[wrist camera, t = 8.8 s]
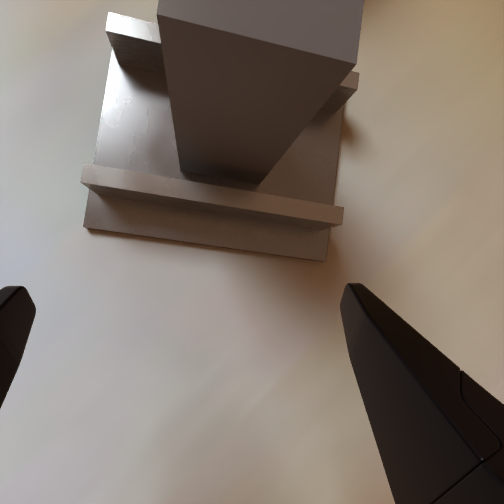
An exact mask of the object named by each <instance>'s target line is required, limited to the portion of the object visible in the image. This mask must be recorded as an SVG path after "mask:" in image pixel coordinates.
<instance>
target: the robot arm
mask: <svg viewBox="0 0 504 504" xmlns="http://www.w3.org/2000/svg"><path fill="white" fill-rule="evenodd" d="M340 310H341V316H342V321H343V326H344V331H345V337H346V342H347V347H348V352H349V357H350V360H351V364H352V367H353V370H354V373H355V377H356V380H357V383H358V386H359V389H360V393H361V396H362V399H363V402H364V405H365V409H366V412H367V415H368V418H369V421H370V424H371V428H372V431H373V434H374V437H375V440H376V444H377V447H378V450H379V453H380V456H381V460H382V463H383V466H384V469H385V472H386V476H387V479H388V482H389V485H390V488H391V491H392V495H393V498H394V501H395V504H504V404H502V403H501V402H500V401H499V400H497V399H496V398H495V397H494V396H492V395H491V394H490V393H489V392H488V391H486V390H485V389H484V388H483V387H482V386H480V385H479V384H478V383H477V382H475V381H474V380H473V379H472V378H471V377H470V376H469V375H467V374H466V373H465V372H464V371H462V370H461V371H460V368H459V367H458V366H457V365H456V364H454V363H453V362H452V361H451V360H450V359H449V358H447V357H446V356H445V355H444V354H443V353H442V352H441V351H439V350H438V349H437V348H436V347H435V346H434V345H432V344H431V343H430V342H429V341H428V340H427V339H425V338H424V337H423V336H422V335H421V334H420V333H418V332H417V331H416V330H415V329H414V328H413V327H411V326H410V325H409V324H408V323H407V322H406V321H405V320H403V319H402V318H401V317H400V316H399V315H398V314H396V313H395V312H394V311H393V310H392V309H391V308H389V307H388V306H387V305H386V304H385V303H384V302H382V301H381V300H380V299H379V298H378V297H377V296H376V295H374V294H373V293H372V292H371V291H370V290H369V289H367V288H366V287H365V286H364V285H363V284H361V283H348V284H347V285H346V286H345V289H344V293H343V296H342V299H341V303H340ZM35 314H36V308H35V305H34V303H33V301H32V299H31V297H30V295H29V293H28V291H27V289H26V288H25V287H23V286H7V287H4V288H3V289H1V290H0V408H1V406H2V404H3V401H4V399H5V397H6V395H7V392H8V390H9V388H10V386H11V383H12V381H13V379H14V376H15V374H16V372H17V369H18V367H19V365H20V362H21V359H22V356H23V353H24V350H25V346H26V343H27V340H28V337H29V334H30V330H31V327H32V324H33V321H34V318H35Z"/></svg>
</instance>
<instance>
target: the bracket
mask: <svg viewBox="0 0 504 504" xmlns="http://www.w3.org/2000/svg"><path fill="white" fill-rule="evenodd" d="M106 33H107V35H108V38H109V41H110V43H111V46H112V53H111V60H110V66H109V72H108V78H107V84H106V90H105V96H104V102H103V108H102V115H101V121H100V127H99V133H98V139H97V145H96V151H95V157H94V163H93V164H88V163H84V164H83V170H82V176H81V183H82V184H84V185H85V186H86V187H88V188H89V194H88V200H87V206H86V212H85V218H84V224H83V227H85V228H90V229H98V230H105V231H112V232H119V233H126V234H133V235H140V236H147V237H154V238H161V239H168V240H175V241H182V242H189V243H196V244H203V245H210V246H217V247H224V248H231V249H238V250H245V251H252V252H259V253H267V254H274V255H281V256H288V257H295V258H302V259H309V260H316V261H326V255H327V246H328V238H329V229H330V228H332V227H335V226H339V225H342V220H343V211H344V207H339V206H333V205H332V204H333V195H334V187H335V178H336V170H337V161H338V153H339V144H340V136H341V127H342V119H343V110H344V103H345V102H346V101H347V100H348V99H349V98H350V97H351V96H352V95H353V94H354V93H355V92H356V90H357V89H358V81H359V73H357V72H353V71H350V73H349V74H348V75H347V76H346V78H345V79H344V80H343V81H342V83H341V84H340V85H339V86H338V88H337V89H336V90H335V91H334V93H333V94H332V95H331V96H330V98H329V99H328V100H327V101H326V103H325V104H324V105H323V106H322V108H321V109H320V110H319V111H318V113H317V114H316V115H315V116H314V117H313V119H312V120H311V121H310V122H309V124H308V125H307V126H306V127H305V129H304V130H303V131H302V132H301V134H300V135H299V136H298V137H297V139H296V140H295V141H294V142H293V144H292V145H291V146H290V147H289V149H288V150H287V151H286V152H285V154H284V155H283V156H282V157H281V159H280V160H279V161H278V162H277V164H276V165H275V166H274V167H273V169H272V170H271V171H270V172H269V174H268V175H267V176H266V177H265V179H264V180H263V181H262V182H261V184H260V185H258V184H253V183H247V182H242V181H236V180H230V179H225V178H219V177H214V176H208V175H202V174H197V173H191V172H186V171H180V165H179V159H178V152H177V145H176V139H175V132H174V125H173V119H172V112H171V106H170V99H169V92H168V86H167V79H166V73H165V66H164V59H163V53H162V46H161V39H160V33H159V26H158V24H156V23H152V22H147V21H143V20H139V19H135V18H131V17H127V16H123V15H119V14H115V13H110V12H109V13H108V19H107V25H106Z"/></svg>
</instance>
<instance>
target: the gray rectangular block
mask: <svg viewBox="0 0 504 504" xmlns="http://www.w3.org/2000/svg"><path fill="white" fill-rule="evenodd" d="M363 4H364V0H159V2H158V9H157V20H158V26H159V33H160V39H161V46H162V53H163V59H164V66H165V73H166V79H167V86H168V92H169V99H170V106H171V112H172V119H173V125H174V132H175V139H176V145H177V152H178V159H179V165H180V171H186V172H191V173H197V174H202V175H208V176H214V177H219V178H225V179H230V180H236V181H242V182H247V183H253V184H258V185H260V184H261V182H262V181H263V180H264V179H265V177H266V176H267V175H268V174H269V172H270V171H271V170H272V169H273V167H274V166H275V165H276V164H277V162H278V161H279V160H280V159H281V157H282V156H283V155H284V154H285V152H286V151H287V150H288V149H289V147H290V146H291V145H292V144H293V142H294V141H295V140H296V139H297V137H298V136H299V135H300V134H301V132H302V131H303V130H304V129H305V127H306V126H307V125H308V124H309V122H310V121H311V120H312V119H313V117H314V116H315V115H316V114H317V113H318V111H319V110H320V109H321V108H322V106H323V105H324V104H325V103H326V101H327V100H328V99H329V98H330V96H331V95H332V94H333V93H334V91H335V90H336V89H337V88H338V86H339V85H340V84H341V83H342V81H343V80H344V79H345V78H346V76H347V75H348V74H349V73H350V71H351V70H352V69H353V68H354V66H355V65H356V63H357V55H358V47H359V38H360V30H361V21H362V13H363Z"/></svg>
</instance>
